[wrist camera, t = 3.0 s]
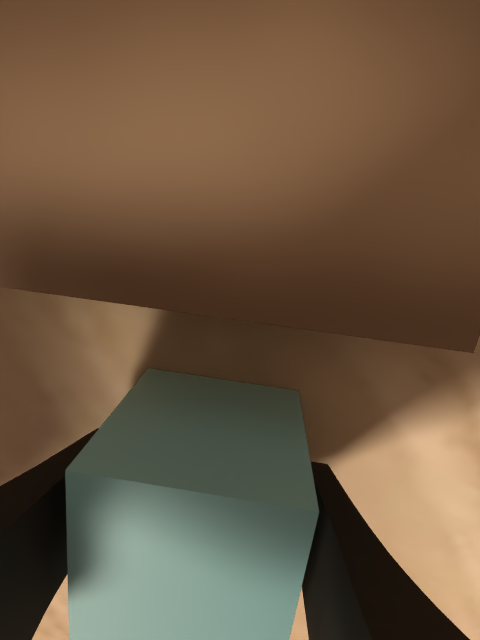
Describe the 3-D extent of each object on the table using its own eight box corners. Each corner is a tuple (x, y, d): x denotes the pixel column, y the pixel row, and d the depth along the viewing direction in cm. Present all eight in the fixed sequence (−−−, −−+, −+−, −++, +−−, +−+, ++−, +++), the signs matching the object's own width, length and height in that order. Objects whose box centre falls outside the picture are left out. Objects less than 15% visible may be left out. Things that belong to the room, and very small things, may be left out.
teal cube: (275, 510, 13) (278, 683, 8) (142, 489, 13) (69, 645, 8) (298, 389, 11) (319, 511, 7) (149, 367, 12) (65, 470, 7)
